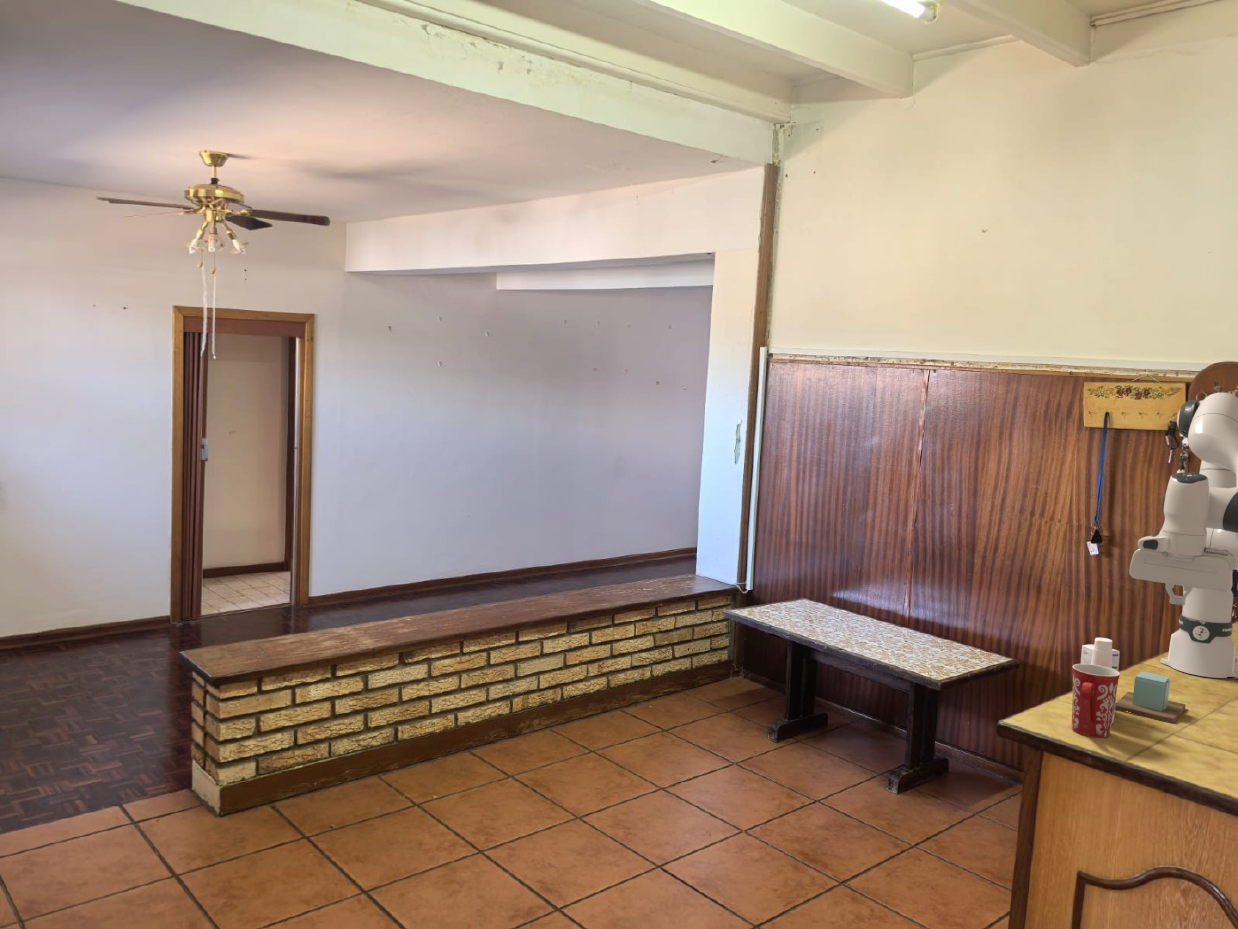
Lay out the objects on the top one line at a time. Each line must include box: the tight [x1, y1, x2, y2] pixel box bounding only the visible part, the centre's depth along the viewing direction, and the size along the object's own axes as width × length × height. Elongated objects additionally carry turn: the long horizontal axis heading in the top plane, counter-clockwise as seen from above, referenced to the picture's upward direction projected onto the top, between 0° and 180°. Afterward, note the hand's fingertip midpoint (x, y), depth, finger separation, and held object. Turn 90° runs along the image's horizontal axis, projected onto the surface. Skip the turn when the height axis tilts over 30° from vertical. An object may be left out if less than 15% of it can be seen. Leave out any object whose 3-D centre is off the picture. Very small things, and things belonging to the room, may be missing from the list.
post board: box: [1115, 691, 1186, 724], centre depth 219 cm, size 14×12×7 cm
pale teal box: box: [1132, 670, 1171, 711], centre depth 219 cm, size 6×6×7 cm
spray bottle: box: [1091, 637, 1118, 725], centre depth 209 cm, size 7×7×18 cm
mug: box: [1071, 663, 1121, 739], centre depth 200 cm, size 13×9×14 cm
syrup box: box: [1080, 643, 1121, 704], centre depth 216 cm, size 6×6×14 cm
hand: (1177, 604), depth 218 cm, fingers closed
